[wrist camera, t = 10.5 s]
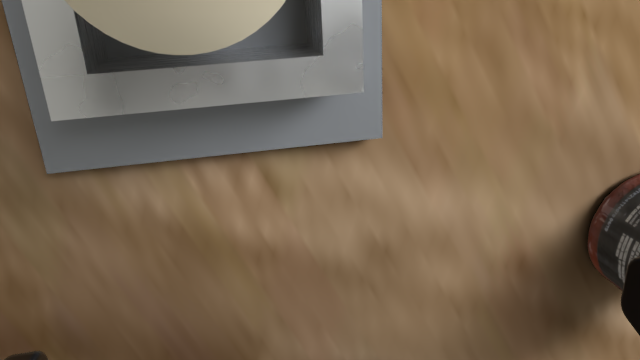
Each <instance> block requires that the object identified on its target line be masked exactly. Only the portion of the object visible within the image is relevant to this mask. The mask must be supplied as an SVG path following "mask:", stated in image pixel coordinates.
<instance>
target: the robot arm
mask: <svg viewBox="0 0 640 360" xmlns="http://www.w3.org/2000/svg"><path fill="white" fill-rule="evenodd" d="M621 307H622V310H623V313H624V315H625V316H626V318H627V319H628V321H629V322H630V323H631V325H632V326H633V327H634V329H635V330H636V331H637V333H638V334H639V335H640V257H636V258H634V259H632V260H631V261H630V262H629V264H628V266H627V271H626V276H625V281H624V286H623V291H622V296H621ZM5 360H48V358H47V356H46V355H45V353H43V352H41V351H34V352H27V353H21V354H15V355H11V356H9V357H7V358H6V359H5Z"/></svg>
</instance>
